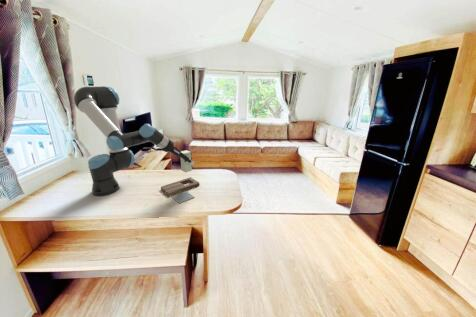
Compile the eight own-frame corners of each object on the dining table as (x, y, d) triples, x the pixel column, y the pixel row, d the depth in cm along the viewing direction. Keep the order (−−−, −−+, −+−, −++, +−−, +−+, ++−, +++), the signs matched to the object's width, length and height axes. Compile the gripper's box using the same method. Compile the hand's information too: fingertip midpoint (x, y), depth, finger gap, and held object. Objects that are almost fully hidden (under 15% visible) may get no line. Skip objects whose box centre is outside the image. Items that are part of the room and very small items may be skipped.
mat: (171, 197, 126) (171, 196, 126) (186, 191, 133) (186, 191, 133) (179, 203, 119) (179, 202, 119) (194, 197, 126) (194, 196, 125)
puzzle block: (181, 170, 137) (179, 151, 133) (188, 168, 141) (186, 150, 136) (185, 172, 134) (183, 153, 129) (191, 170, 137) (190, 152, 133)
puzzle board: (161, 189, 136) (160, 186, 135) (190, 179, 149) (190, 177, 149) (168, 196, 127) (168, 193, 127) (199, 185, 141) (199, 182, 140)
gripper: (155, 145, 128) (181, 163, 144) (167, 152, 115) (195, 171, 131) (162, 135, 129) (187, 155, 145) (175, 141, 117) (201, 162, 133)
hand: (191, 162), depth 138 cm, fingers closed on puzzle block, 5 cm apart
